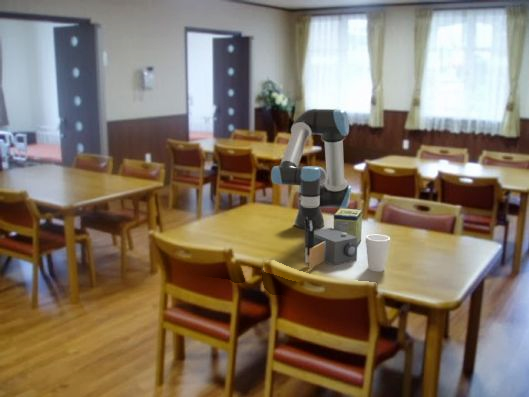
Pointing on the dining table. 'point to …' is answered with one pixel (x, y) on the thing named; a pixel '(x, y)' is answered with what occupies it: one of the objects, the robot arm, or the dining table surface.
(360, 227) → the protein box
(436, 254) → the dining table surface
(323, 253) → the side door
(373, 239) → the foam cup
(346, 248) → the camera body
